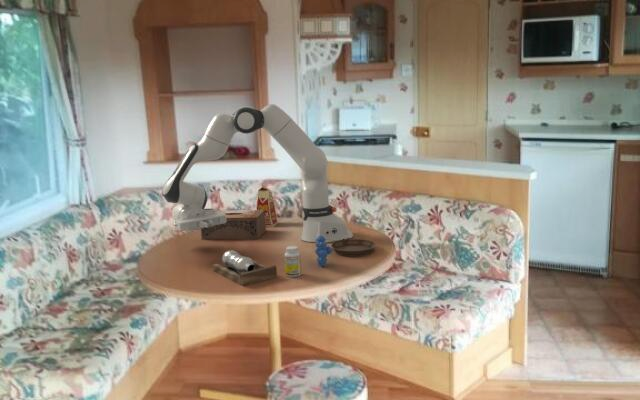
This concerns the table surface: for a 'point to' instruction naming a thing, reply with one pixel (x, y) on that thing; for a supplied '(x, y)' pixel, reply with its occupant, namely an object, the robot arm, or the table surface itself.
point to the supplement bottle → (292, 262)
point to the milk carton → (267, 206)
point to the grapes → (322, 250)
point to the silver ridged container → (238, 262)
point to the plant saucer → (353, 247)
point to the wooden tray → (247, 273)
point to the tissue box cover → (237, 225)
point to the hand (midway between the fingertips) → (210, 225)
